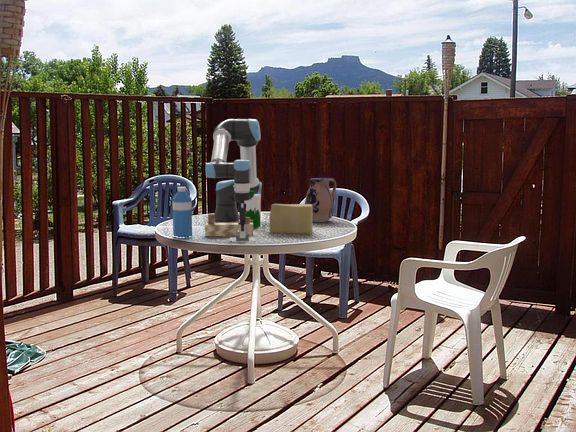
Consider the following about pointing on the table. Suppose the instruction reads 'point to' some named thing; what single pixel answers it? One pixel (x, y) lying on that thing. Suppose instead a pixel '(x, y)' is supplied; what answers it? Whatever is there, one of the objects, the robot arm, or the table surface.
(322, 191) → the ceramic pitcher
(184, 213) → the water bottle
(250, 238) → the mat
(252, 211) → the milk carton
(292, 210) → the cheese
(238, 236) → the lever cap
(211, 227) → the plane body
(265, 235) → the table surface
